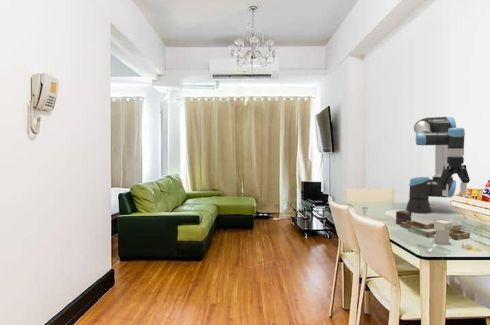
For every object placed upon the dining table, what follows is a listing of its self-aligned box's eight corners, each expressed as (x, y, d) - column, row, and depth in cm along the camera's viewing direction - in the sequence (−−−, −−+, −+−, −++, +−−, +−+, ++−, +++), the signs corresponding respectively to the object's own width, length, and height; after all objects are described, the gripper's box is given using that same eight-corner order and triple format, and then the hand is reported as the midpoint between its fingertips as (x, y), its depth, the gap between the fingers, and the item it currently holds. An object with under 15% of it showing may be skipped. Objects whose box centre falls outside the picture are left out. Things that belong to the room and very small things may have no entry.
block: (442, 228, 174) (442, 219, 174) (452, 231, 168) (452, 222, 168) (434, 229, 172) (434, 220, 172) (444, 232, 166) (444, 223, 166)
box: (404, 225, 180) (405, 213, 180) (395, 223, 186) (395, 211, 185) (411, 224, 183) (411, 212, 183) (402, 222, 188) (402, 210, 188)
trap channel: (427, 223, 185) (427, 219, 185) (476, 236, 159) (476, 232, 158) (396, 227, 178) (396, 222, 178) (442, 242, 151) (442, 237, 151)
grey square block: (433, 242, 153) (433, 227, 152) (449, 243, 151) (449, 228, 150) (434, 244, 150) (435, 229, 149) (451, 245, 147) (452, 230, 147)
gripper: (465, 155, 178) (463, 192, 179) (432, 156, 170) (430, 195, 171) (478, 156, 171) (477, 194, 172) (444, 157, 163) (443, 197, 164)
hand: (454, 195), depth 172 cm, fingers open, 13 cm apart
